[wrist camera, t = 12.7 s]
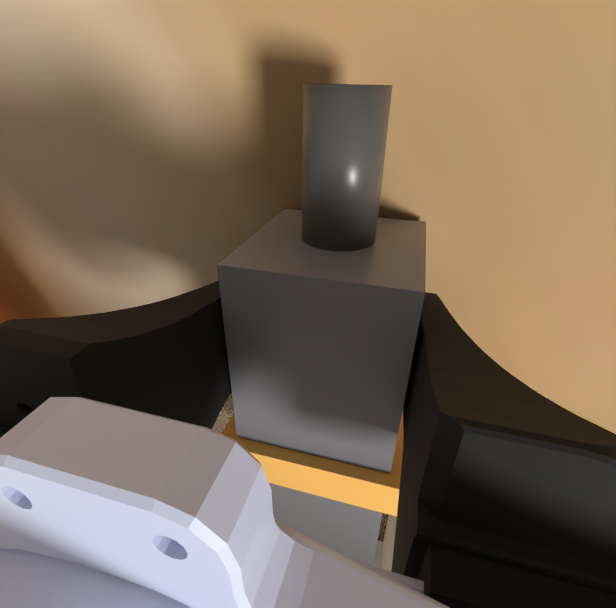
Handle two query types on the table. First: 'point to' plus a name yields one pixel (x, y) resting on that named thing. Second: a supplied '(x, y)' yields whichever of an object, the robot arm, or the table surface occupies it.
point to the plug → (328, 329)
